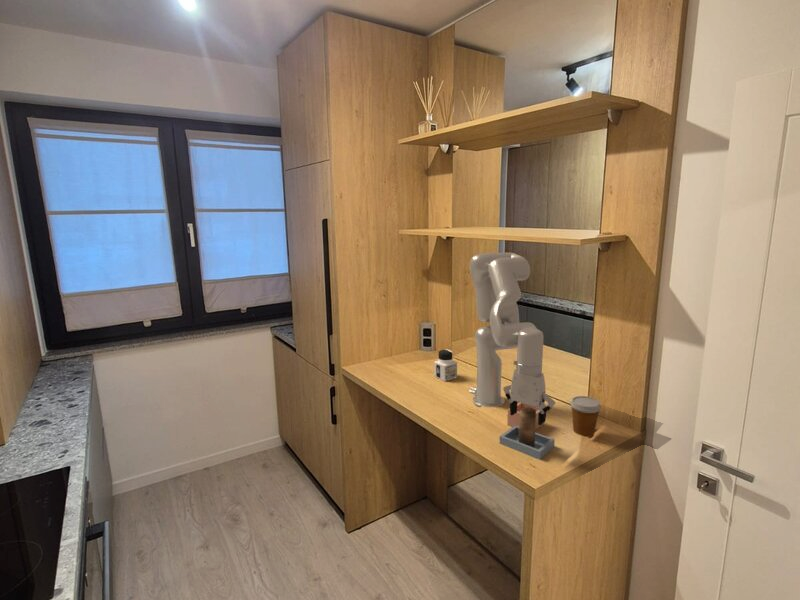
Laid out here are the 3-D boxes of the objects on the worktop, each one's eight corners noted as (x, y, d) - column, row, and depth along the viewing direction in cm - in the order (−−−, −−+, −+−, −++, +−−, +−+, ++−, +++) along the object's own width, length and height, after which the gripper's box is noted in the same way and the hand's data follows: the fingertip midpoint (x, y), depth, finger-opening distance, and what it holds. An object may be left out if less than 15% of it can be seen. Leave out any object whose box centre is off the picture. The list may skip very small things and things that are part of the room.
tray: (499, 446, 141) (499, 436, 140) (515, 434, 148) (515, 425, 147) (539, 462, 131) (539, 452, 130) (554, 449, 138) (554, 439, 137)
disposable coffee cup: (588, 444, 141) (591, 410, 138) (563, 432, 148) (564, 400, 146) (604, 435, 146) (606, 402, 144) (578, 424, 154) (580, 393, 151)
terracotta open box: (507, 427, 153) (507, 409, 151) (520, 418, 159) (520, 401, 157) (530, 436, 146) (531, 417, 145) (543, 426, 153) (543, 408, 151)
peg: (515, 445, 139) (516, 410, 137) (523, 439, 143) (524, 405, 140) (529, 450, 136) (531, 415, 133) (537, 444, 139) (538, 410, 137)
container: (445, 381, 196) (445, 354, 193) (434, 376, 202) (433, 350, 199) (457, 377, 200) (457, 351, 198) (446, 373, 206) (446, 347, 204)
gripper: (498, 364, 138) (497, 414, 141) (550, 378, 126) (547, 432, 129) (510, 358, 143) (509, 406, 146) (561, 371, 131) (558, 423, 134)
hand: (527, 418), depth 138 cm, fingers open, 9 cm apart
